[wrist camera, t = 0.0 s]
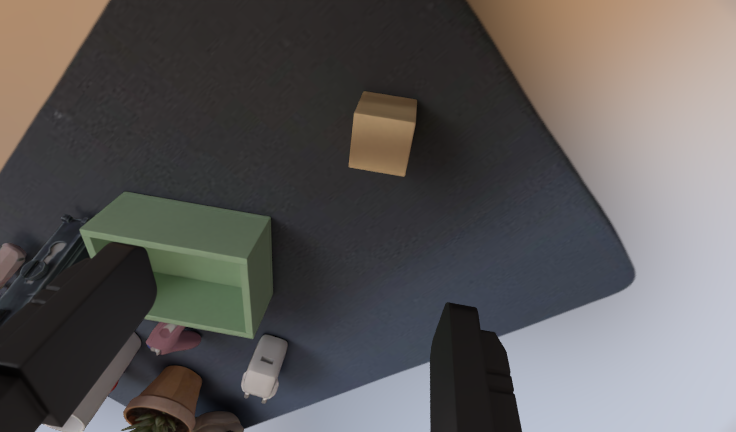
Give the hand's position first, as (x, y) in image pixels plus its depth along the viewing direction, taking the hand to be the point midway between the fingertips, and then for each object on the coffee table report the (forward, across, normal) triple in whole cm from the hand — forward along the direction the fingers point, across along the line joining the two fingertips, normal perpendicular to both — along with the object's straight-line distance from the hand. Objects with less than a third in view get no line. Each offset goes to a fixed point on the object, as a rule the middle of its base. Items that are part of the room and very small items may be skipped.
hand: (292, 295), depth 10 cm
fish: (+25, +42, +31) cm, 58 cm away
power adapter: (+24, +10, +41) cm, 49 cm away
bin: (+24, +17, +22) cm, 37 cm away
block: (+24, -1, +4) cm, 25 cm away
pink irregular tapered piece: (+24, +20, +34) cm, 47 cm away
